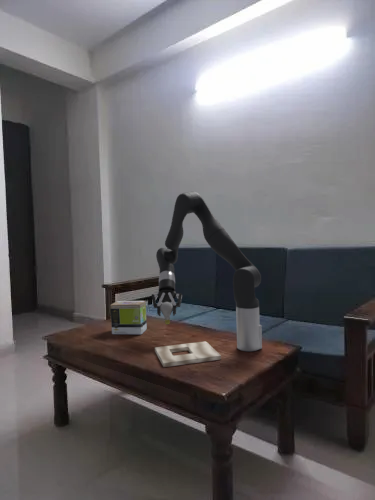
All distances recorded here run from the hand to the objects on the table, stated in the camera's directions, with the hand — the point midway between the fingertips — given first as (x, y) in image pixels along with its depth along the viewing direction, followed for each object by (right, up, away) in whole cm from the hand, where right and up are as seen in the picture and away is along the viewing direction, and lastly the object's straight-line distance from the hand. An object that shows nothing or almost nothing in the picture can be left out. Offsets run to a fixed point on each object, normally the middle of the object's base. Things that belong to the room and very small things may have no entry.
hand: (166, 314), depth 154 cm
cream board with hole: (+9, -14, -13) cm, 20 cm away
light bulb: (0, -5, +2) cm, 5 cm away
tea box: (-19, -13, +22) cm, 32 cm away
